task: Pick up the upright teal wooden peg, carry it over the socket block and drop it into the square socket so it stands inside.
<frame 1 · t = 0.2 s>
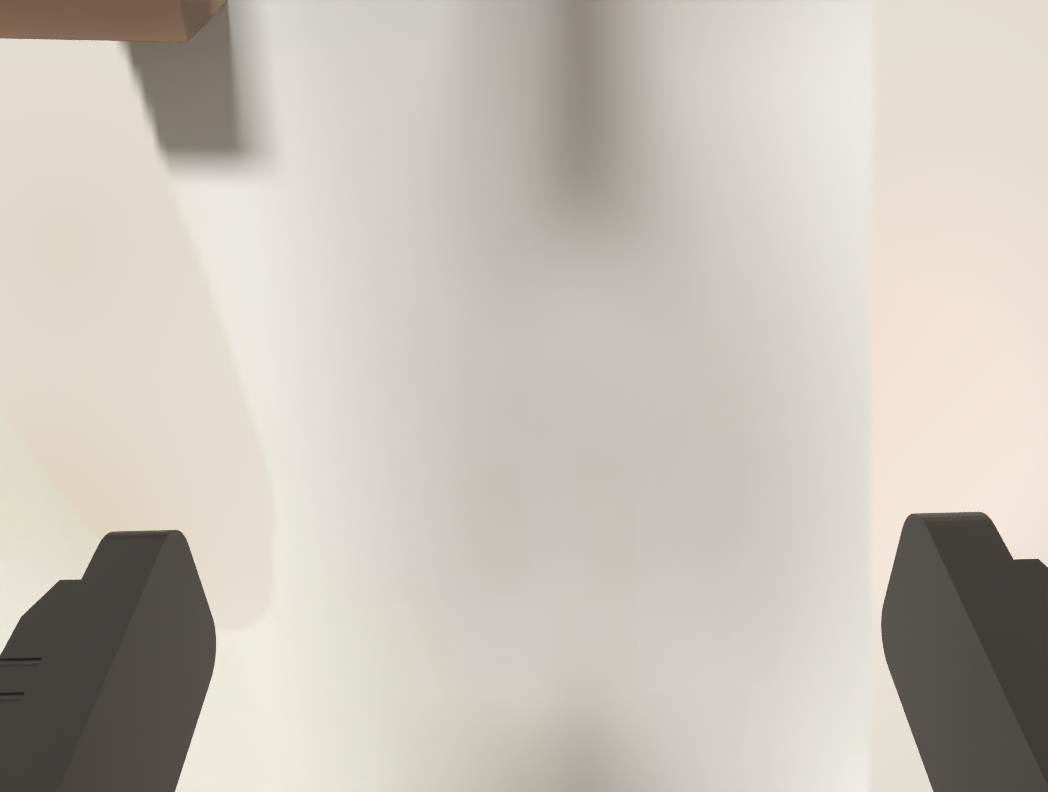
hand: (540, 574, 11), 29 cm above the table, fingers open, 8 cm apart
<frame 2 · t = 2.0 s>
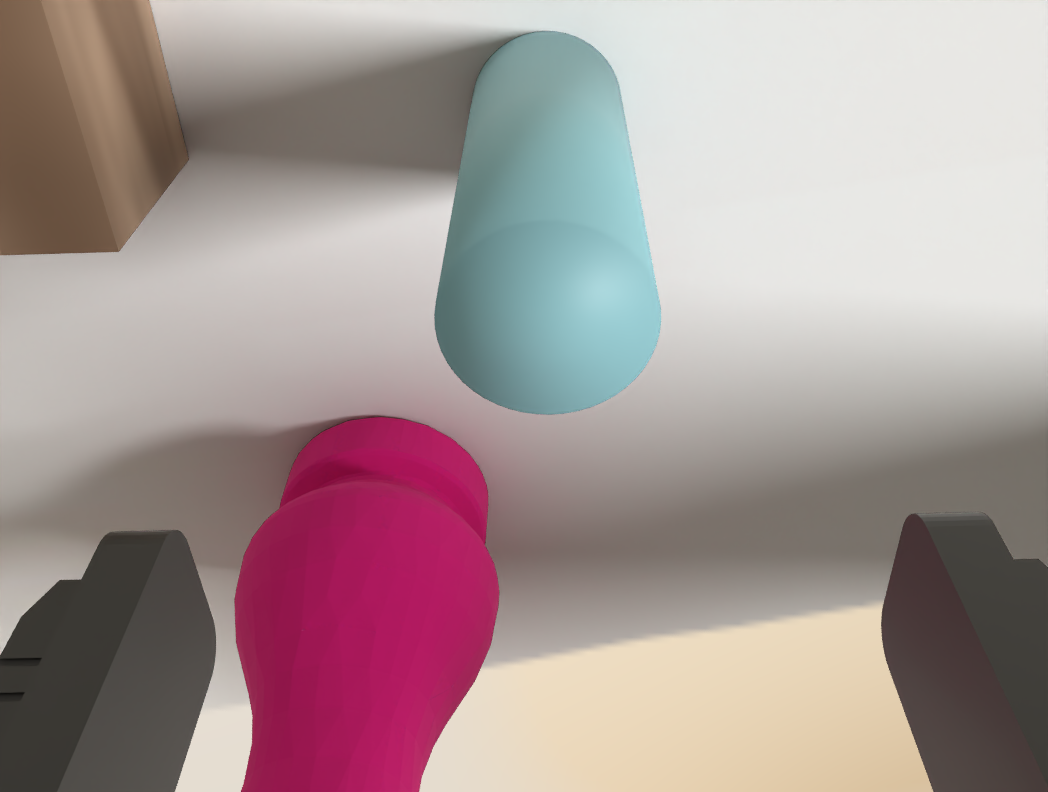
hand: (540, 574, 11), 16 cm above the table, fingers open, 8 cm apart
pepper mill: (390, 489, 31), on the table
peg: (546, 107, 24), on the table
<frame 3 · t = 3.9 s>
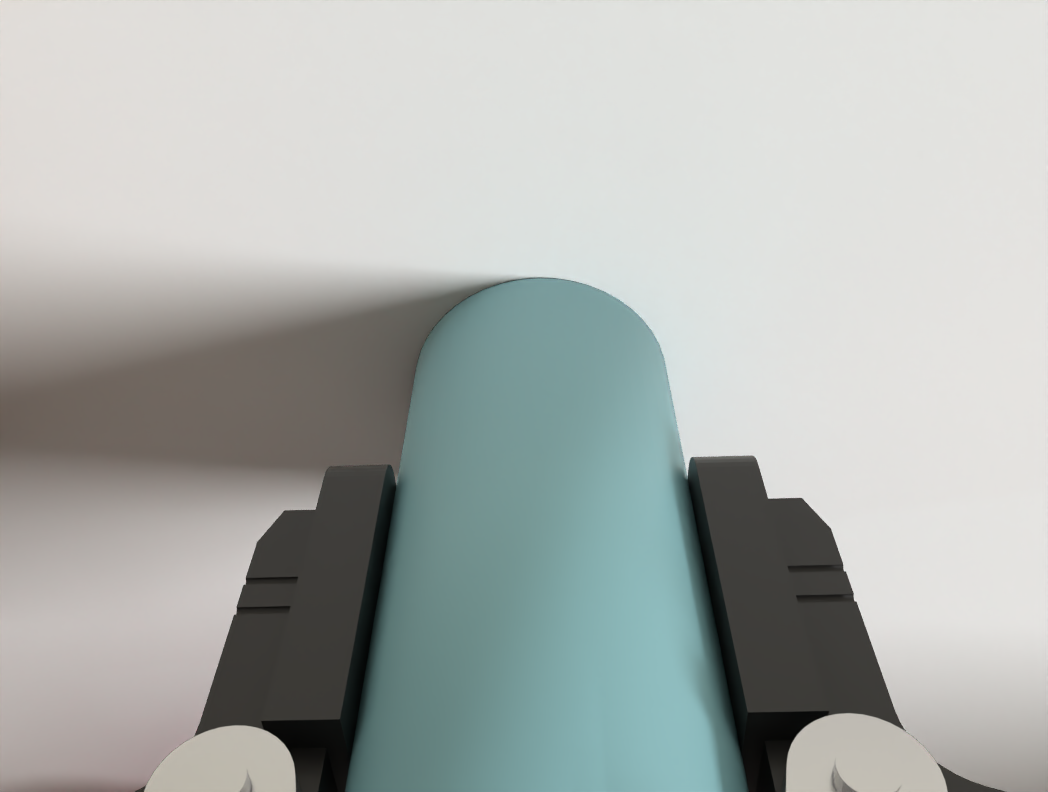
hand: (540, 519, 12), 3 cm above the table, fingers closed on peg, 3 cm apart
peg: (540, 388, 14), on the table, touching gripper
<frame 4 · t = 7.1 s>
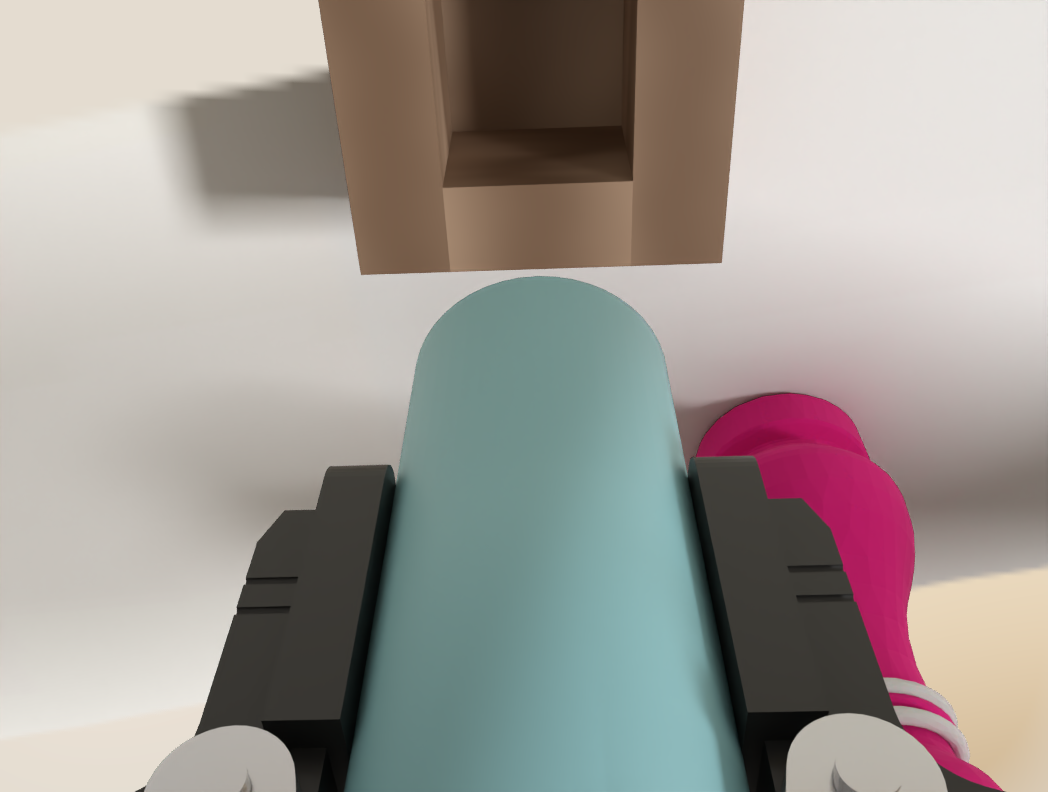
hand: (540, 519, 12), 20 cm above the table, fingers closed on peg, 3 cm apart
pepper mill: (775, 454, 38), on the table
socket block: (533, 32, 29), on the table
peg: (540, 387, 14), point 18 cm above the table, touching gripper
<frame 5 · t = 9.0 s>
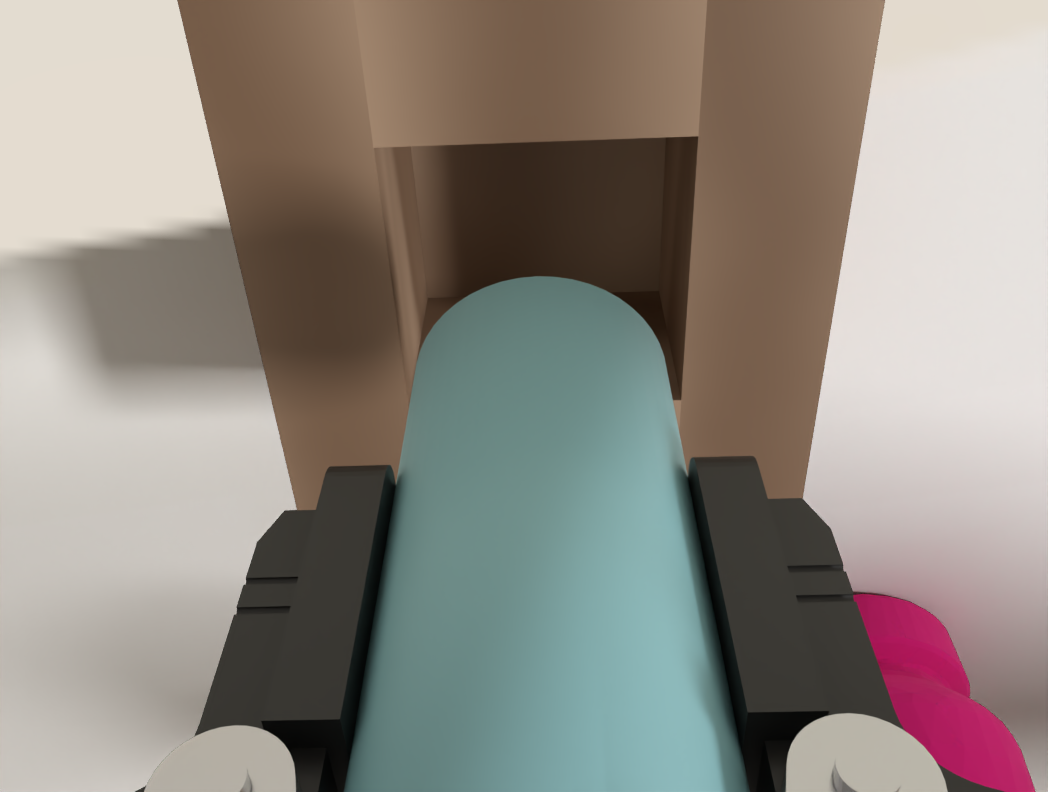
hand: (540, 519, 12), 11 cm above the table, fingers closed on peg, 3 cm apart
pepper mill: (842, 657, 30), on the table
socket block: (539, 166, 21), on the table
peg: (540, 387, 14), point 8 cm above the table, touching gripper
when the fingers open (6 cm above the table, at t = 10.6 s): peg drops 2 cm, resting on socket block.
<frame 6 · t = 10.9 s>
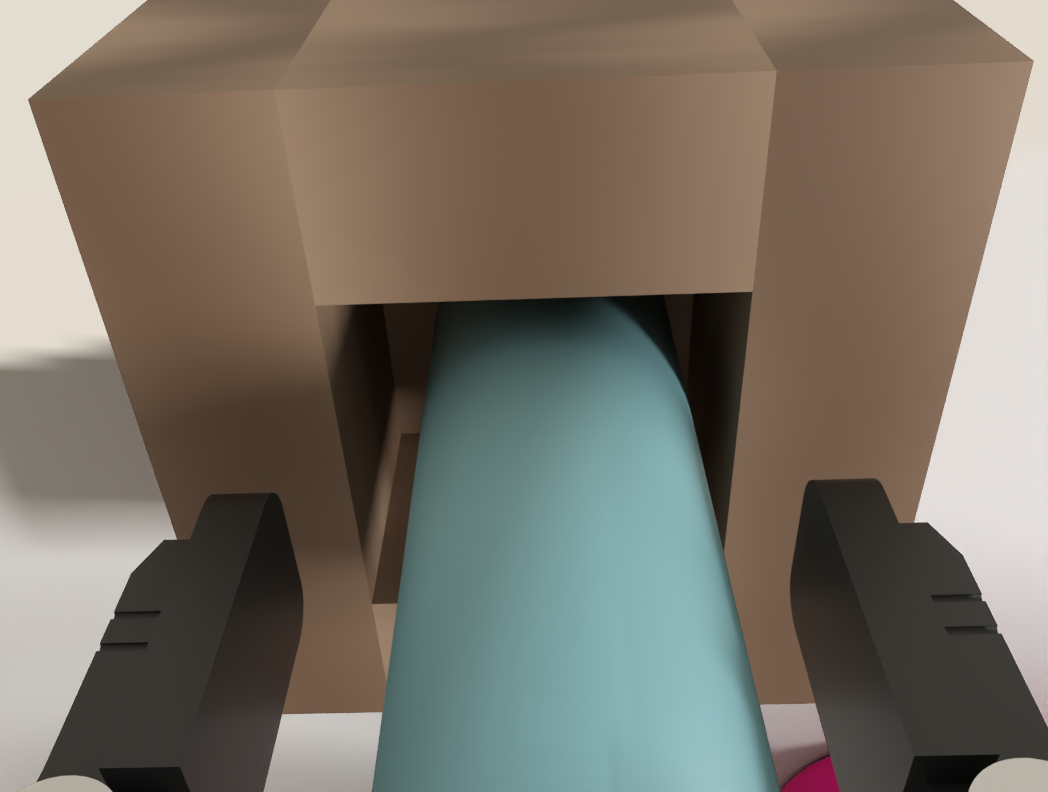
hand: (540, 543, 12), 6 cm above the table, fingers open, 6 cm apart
socket block: (537, 277, 17), on the table
peg: (550, 306, 16), point 1 cm above the table, touching socket block
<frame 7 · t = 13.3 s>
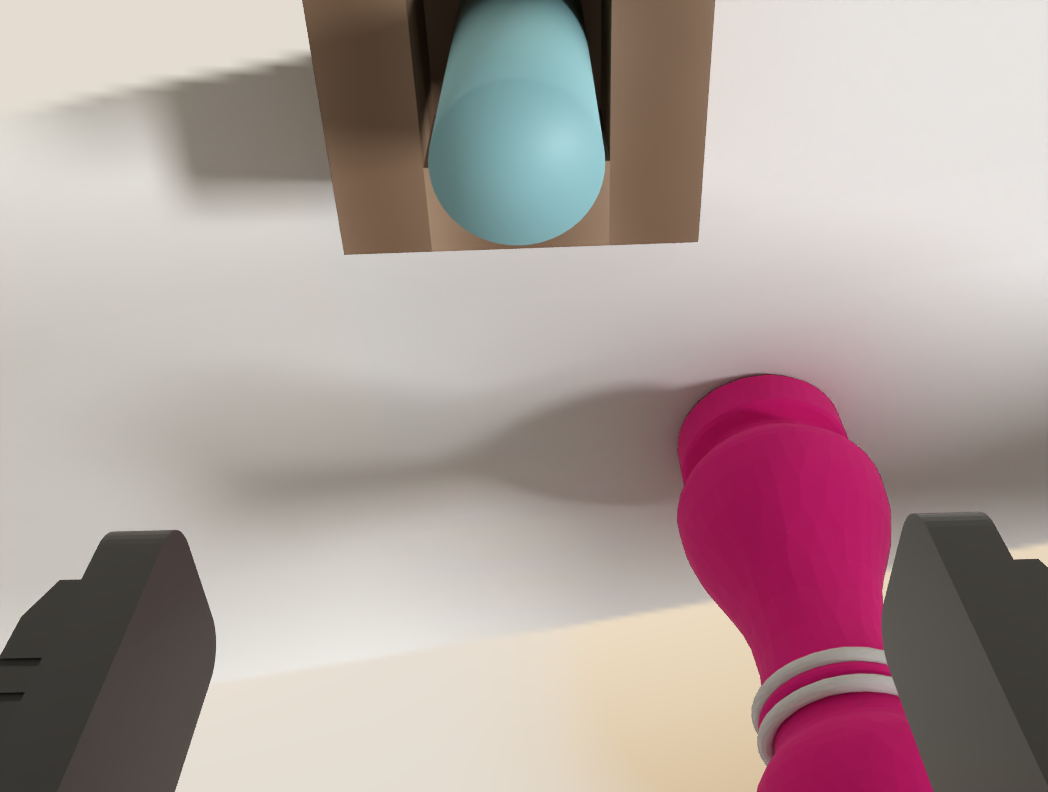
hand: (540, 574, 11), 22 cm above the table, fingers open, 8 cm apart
pepper mill: (756, 435, 38), on the table
socket block: (513, 16, 29), on the table
peg: (520, 25, 28), point 1 cm above the table, touching socket block
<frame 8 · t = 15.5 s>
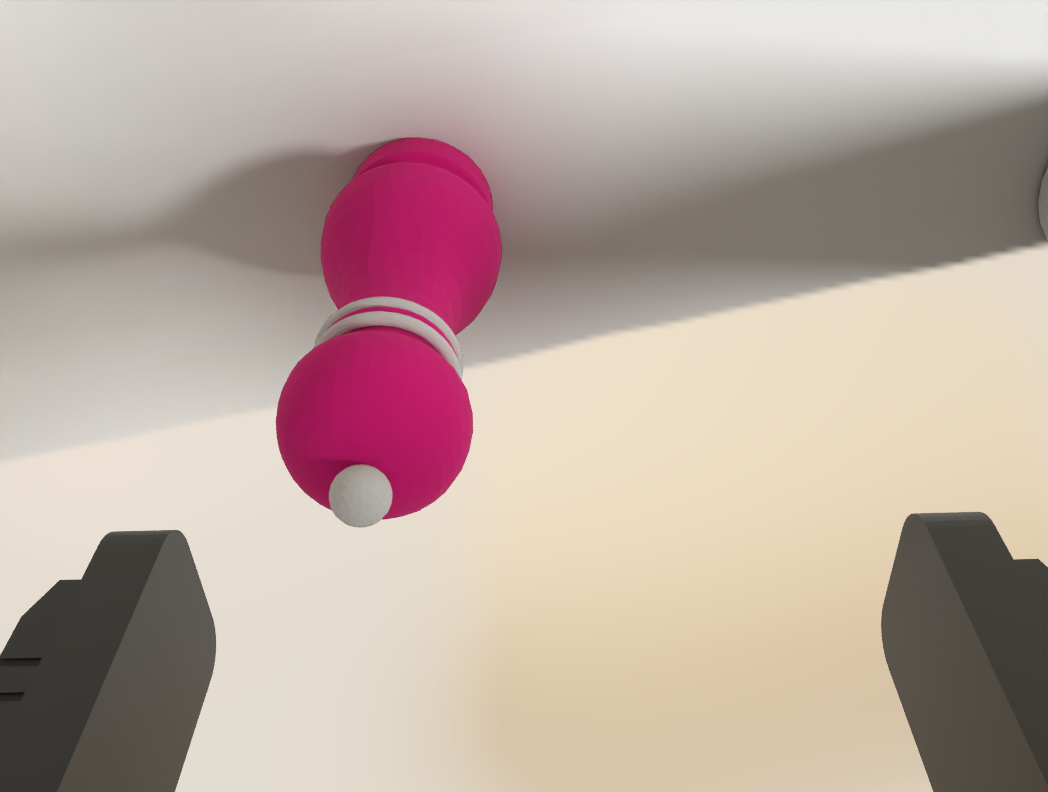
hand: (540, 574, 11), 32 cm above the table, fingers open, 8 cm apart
pepper mill: (422, 202, 44), on the table
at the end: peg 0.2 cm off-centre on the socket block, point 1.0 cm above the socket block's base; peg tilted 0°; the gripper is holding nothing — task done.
